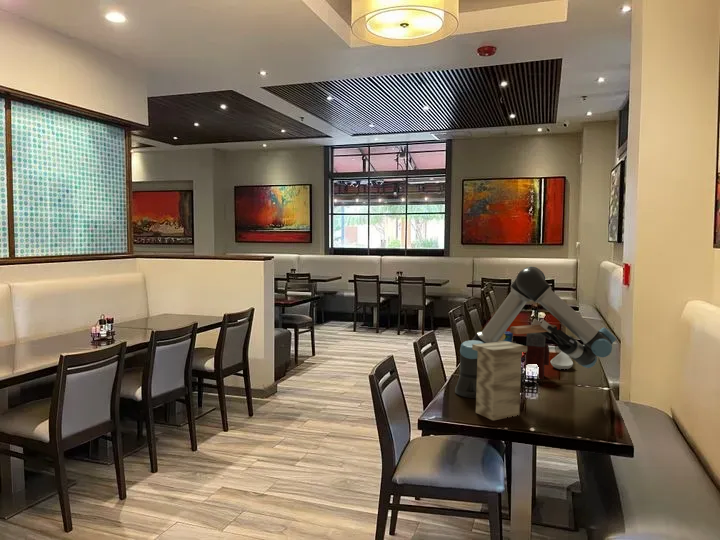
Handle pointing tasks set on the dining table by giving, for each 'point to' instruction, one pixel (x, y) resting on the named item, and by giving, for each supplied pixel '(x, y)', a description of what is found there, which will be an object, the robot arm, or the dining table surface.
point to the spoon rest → (562, 361)
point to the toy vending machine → (537, 351)
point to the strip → (528, 329)
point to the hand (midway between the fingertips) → (537, 322)
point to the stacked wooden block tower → (498, 379)
